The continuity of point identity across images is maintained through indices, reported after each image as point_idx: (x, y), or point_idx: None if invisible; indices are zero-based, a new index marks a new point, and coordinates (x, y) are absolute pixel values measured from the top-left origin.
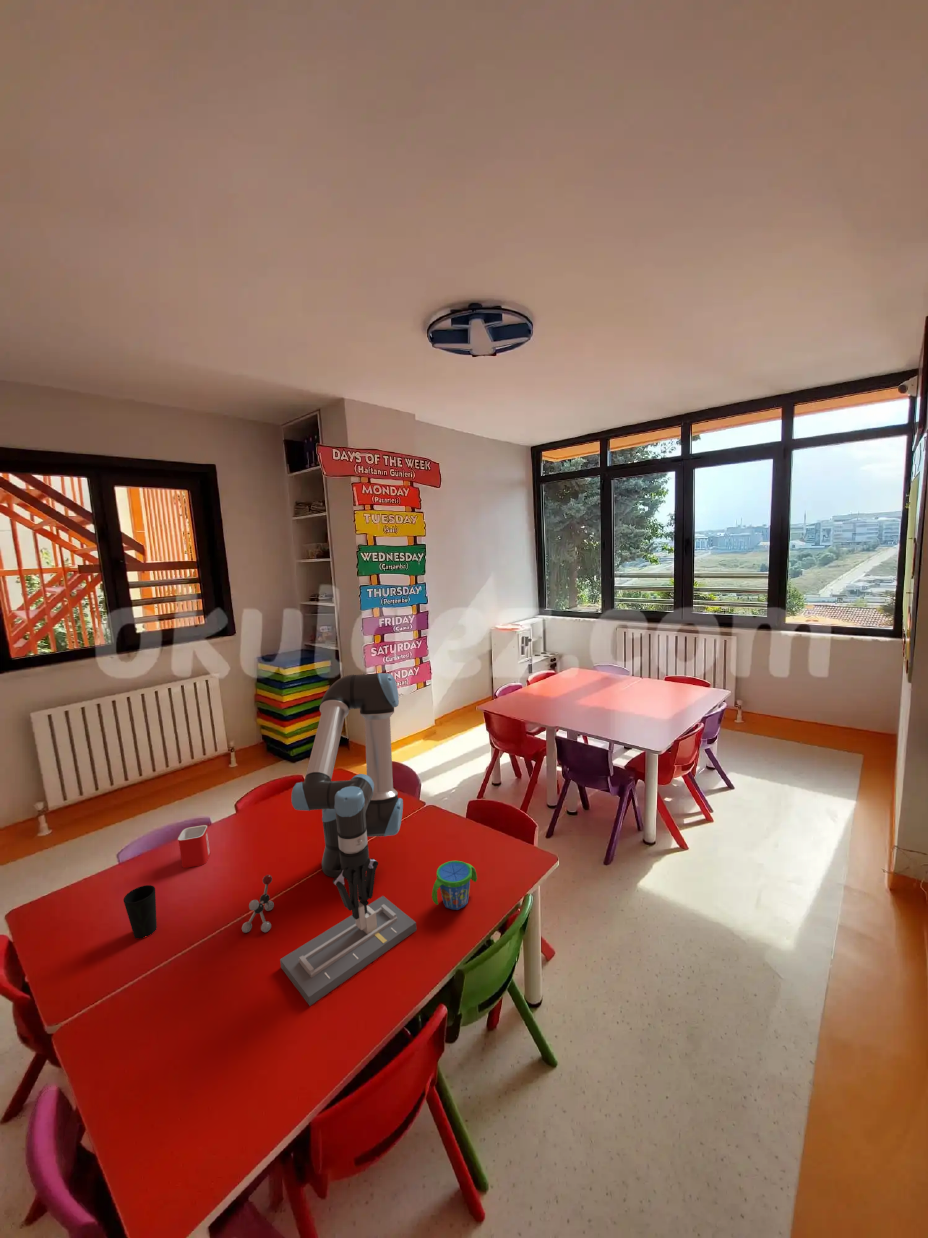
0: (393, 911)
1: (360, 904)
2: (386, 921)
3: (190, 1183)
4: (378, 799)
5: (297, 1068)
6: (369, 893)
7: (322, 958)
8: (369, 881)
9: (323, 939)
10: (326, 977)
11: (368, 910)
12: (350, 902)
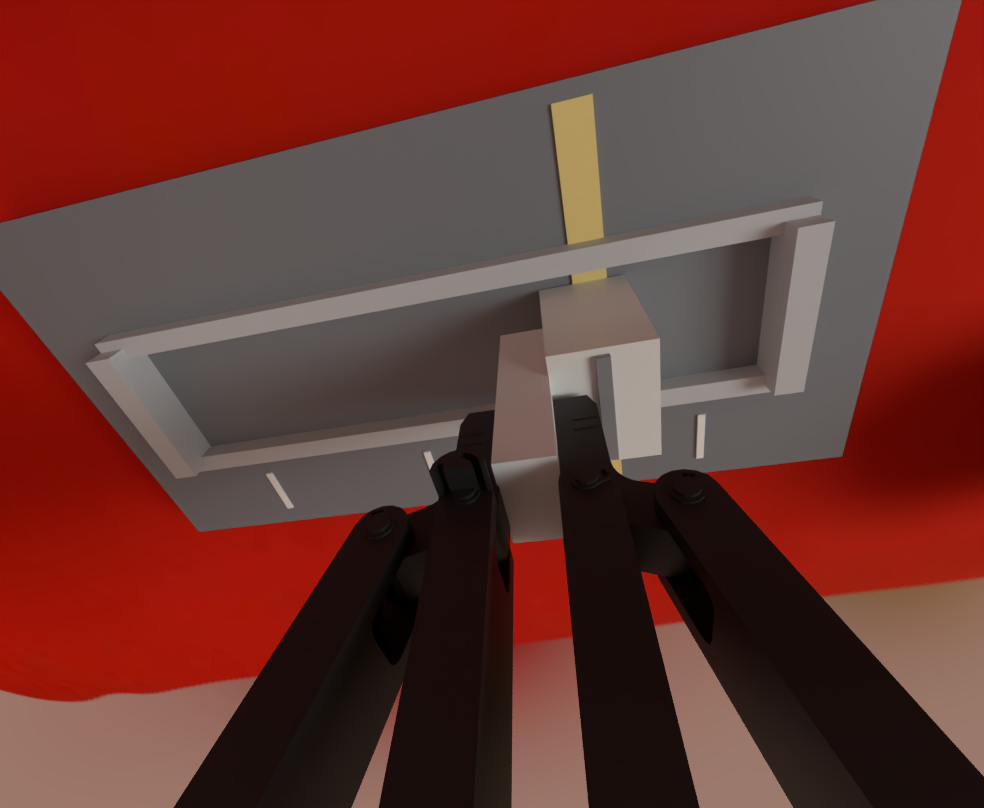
0: (833, 286)
1: (547, 512)
2: (720, 347)
3: (15, 669)
4: None
5: (201, 620)
6: (685, 619)
7: (255, 387)
8: (798, 798)
9: (262, 237)
10: (275, 495)
11: (625, 403)
12: (399, 673)
